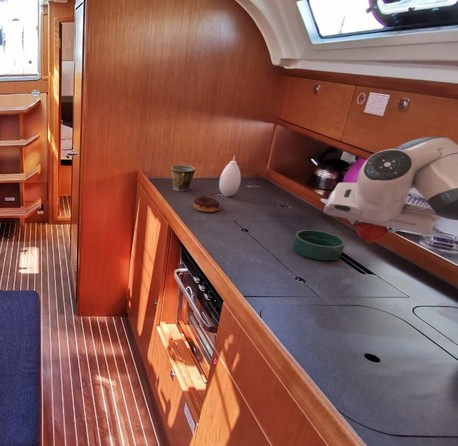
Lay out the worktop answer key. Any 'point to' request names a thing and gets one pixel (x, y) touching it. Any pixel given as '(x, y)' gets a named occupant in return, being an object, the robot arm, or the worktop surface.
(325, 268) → the worktop surface
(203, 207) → the donut
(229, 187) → the white tall oval
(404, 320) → the worktop surface
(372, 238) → the red pomegranate
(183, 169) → the ceramic cup
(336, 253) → the bowl
